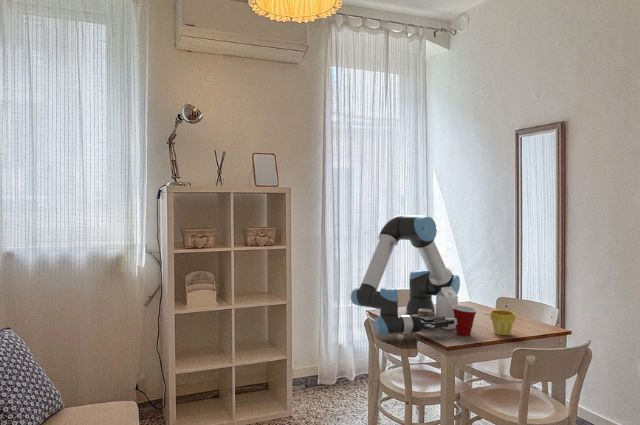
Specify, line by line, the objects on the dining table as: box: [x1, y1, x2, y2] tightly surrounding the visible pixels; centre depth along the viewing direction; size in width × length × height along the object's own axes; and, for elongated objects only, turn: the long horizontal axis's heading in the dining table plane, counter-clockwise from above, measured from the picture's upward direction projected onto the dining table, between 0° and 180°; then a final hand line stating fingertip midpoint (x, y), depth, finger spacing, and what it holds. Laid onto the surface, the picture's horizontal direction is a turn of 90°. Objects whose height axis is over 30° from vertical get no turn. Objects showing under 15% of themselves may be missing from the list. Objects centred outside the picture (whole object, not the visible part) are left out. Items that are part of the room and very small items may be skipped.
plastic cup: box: [452, 305, 478, 337], centre depth 208 cm, size 11×11×12 cm
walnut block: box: [418, 308, 434, 330], centre depth 221 cm, size 6×6×8 cm
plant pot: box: [489, 309, 516, 336], centre depth 209 cm, size 10×10×10 cm
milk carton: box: [435, 287, 459, 330], centre depth 220 cm, size 7×7×19 cm
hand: (459, 321), depth 208 cm, fingers closed
